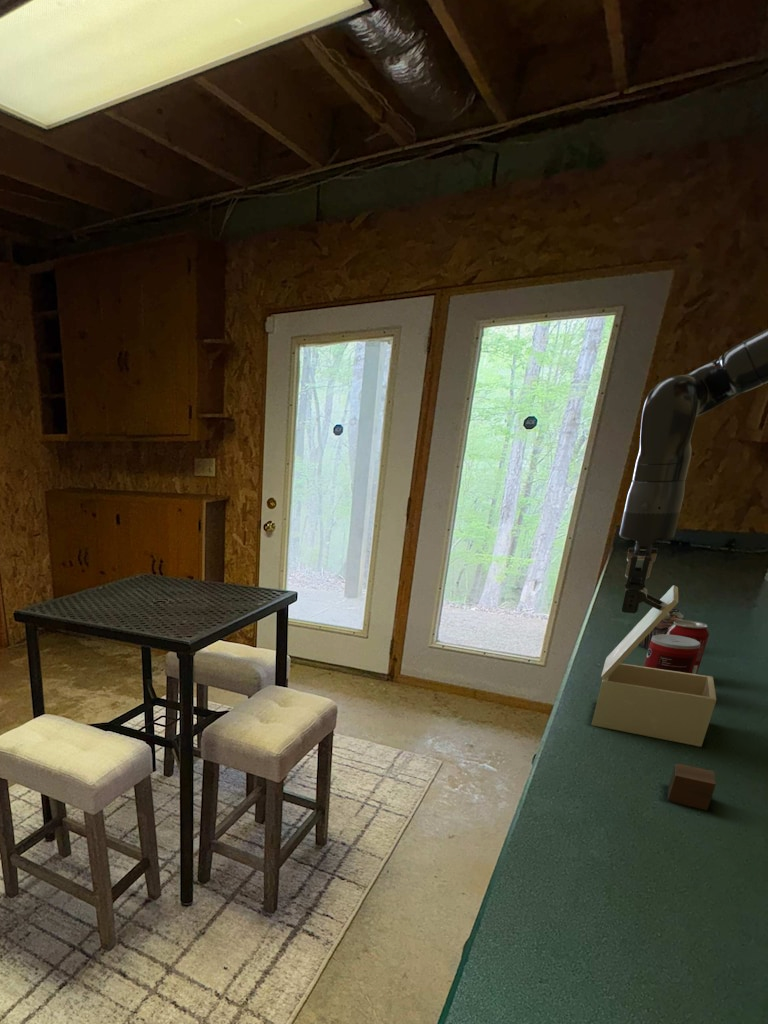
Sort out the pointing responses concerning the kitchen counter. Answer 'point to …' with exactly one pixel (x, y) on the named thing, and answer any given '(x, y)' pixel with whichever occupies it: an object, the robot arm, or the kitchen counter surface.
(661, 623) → the cupcake
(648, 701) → the bin
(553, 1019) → the kitchen counter surface
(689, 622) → the soda can
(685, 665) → the canned food
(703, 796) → the block
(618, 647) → the bin lid
